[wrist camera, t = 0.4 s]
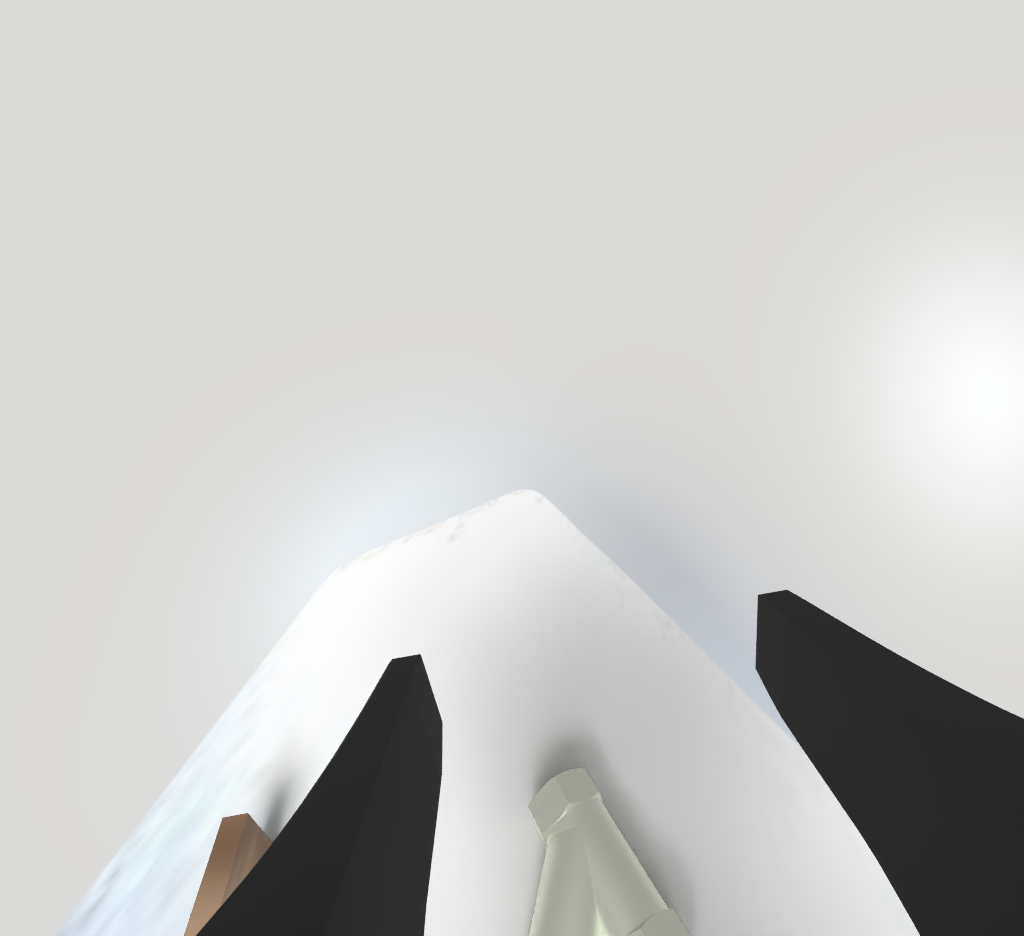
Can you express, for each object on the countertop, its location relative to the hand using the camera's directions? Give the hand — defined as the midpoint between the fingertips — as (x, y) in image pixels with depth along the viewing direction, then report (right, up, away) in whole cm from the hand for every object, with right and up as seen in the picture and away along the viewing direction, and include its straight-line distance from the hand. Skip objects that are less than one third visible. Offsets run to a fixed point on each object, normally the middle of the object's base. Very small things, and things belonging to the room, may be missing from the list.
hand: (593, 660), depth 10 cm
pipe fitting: (+1, -17, +12) cm, 21 cm away
